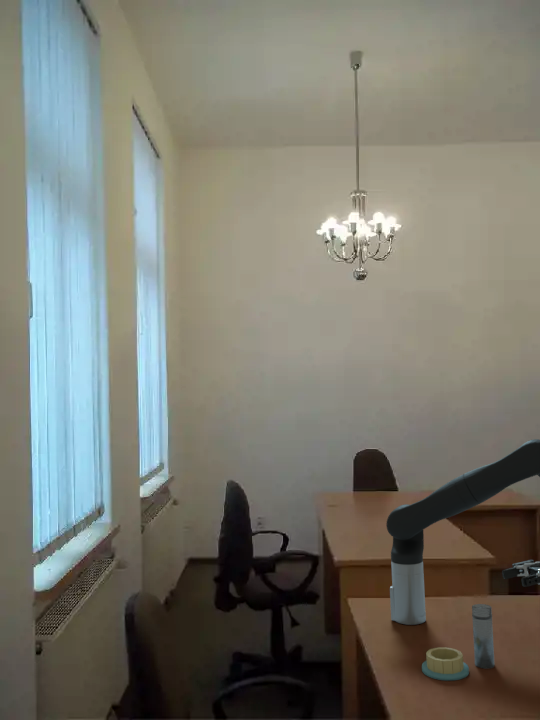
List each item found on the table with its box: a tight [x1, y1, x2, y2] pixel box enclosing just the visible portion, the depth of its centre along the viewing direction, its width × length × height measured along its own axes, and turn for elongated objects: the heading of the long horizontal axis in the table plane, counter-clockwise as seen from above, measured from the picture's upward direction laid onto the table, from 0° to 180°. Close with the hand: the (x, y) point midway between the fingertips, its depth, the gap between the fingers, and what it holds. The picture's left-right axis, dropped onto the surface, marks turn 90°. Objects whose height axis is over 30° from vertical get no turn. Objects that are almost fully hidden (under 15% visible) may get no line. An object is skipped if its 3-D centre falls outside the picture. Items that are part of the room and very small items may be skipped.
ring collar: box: [421, 646, 470, 682], centre depth 169 cm, size 11×11×4 cm
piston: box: [471, 603, 495, 670], centre depth 172 cm, size 5×5×14 cm
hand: (512, 578), depth 175 cm, fingers open, 8 cm apart
